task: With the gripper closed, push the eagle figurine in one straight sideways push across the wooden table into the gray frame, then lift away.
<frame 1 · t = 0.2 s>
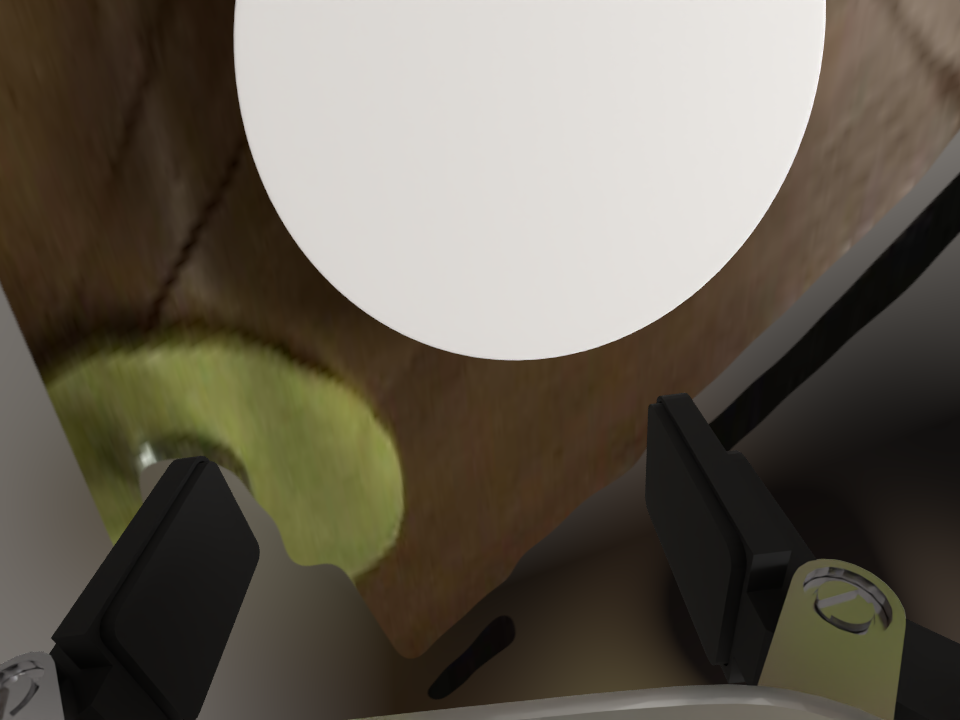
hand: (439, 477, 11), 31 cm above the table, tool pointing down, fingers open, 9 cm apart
plate stack: (510, 95, 36), on the table
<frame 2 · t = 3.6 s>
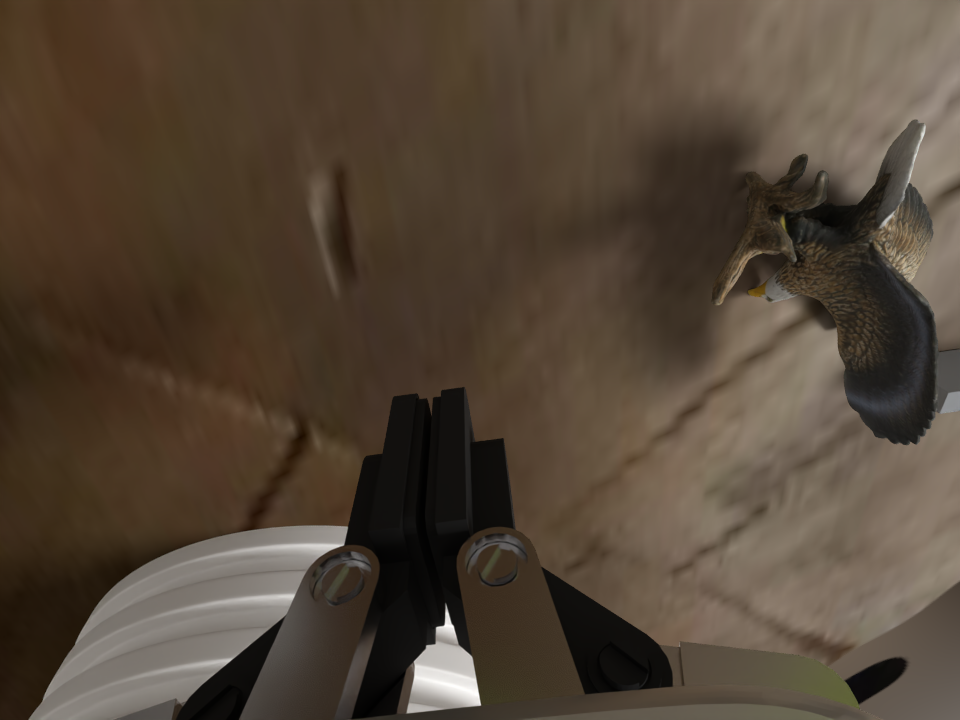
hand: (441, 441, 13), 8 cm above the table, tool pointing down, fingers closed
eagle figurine: (798, 251, 19), on the table
plate stack: (336, 675, 33), on the table
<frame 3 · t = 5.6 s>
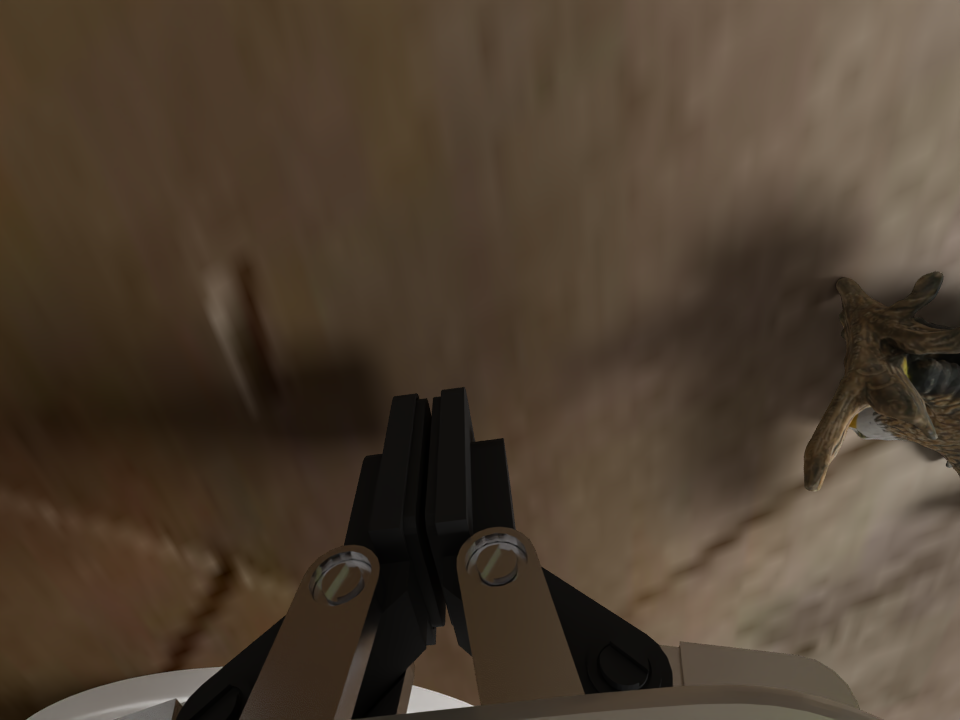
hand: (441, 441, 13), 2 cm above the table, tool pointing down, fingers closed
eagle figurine: (898, 369, 15), on the table
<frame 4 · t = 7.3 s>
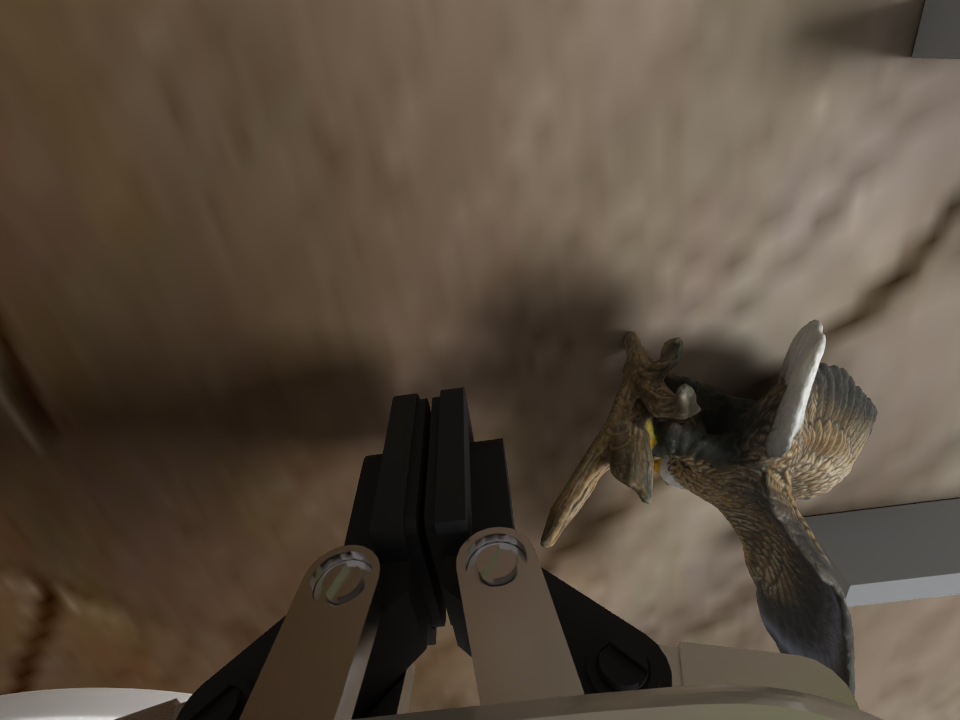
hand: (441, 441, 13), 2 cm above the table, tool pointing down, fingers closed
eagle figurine: (708, 418, 15), on the table, touching gripper
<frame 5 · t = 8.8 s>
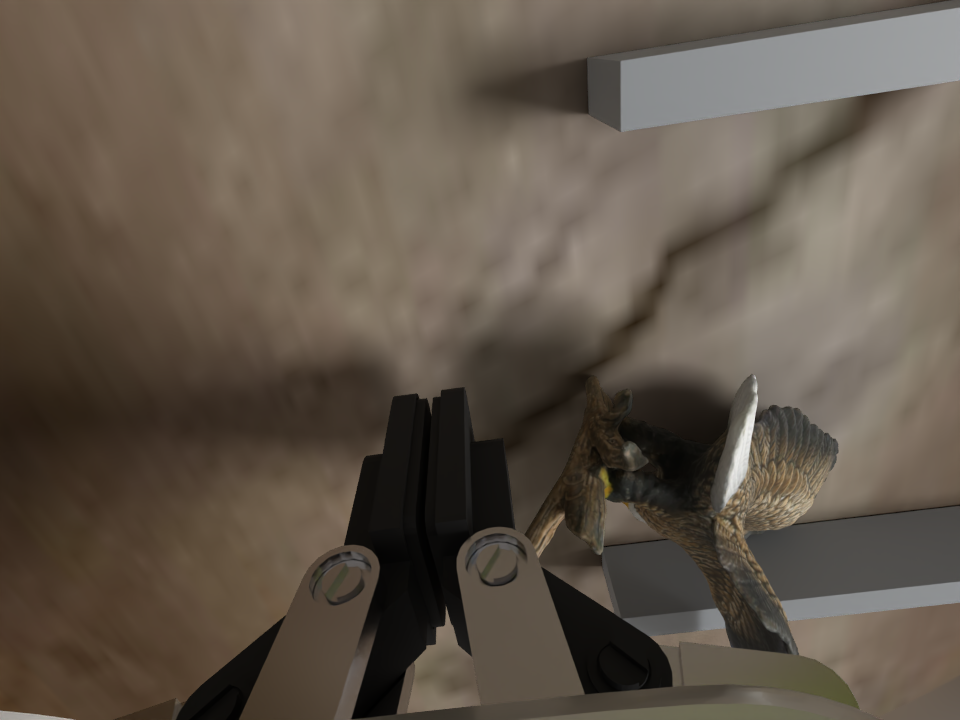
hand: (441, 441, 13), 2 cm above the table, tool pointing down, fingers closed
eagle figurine: (675, 452, 16), on the table, touching gray frame, gripper
gray frame: (908, 341, 14), on the table
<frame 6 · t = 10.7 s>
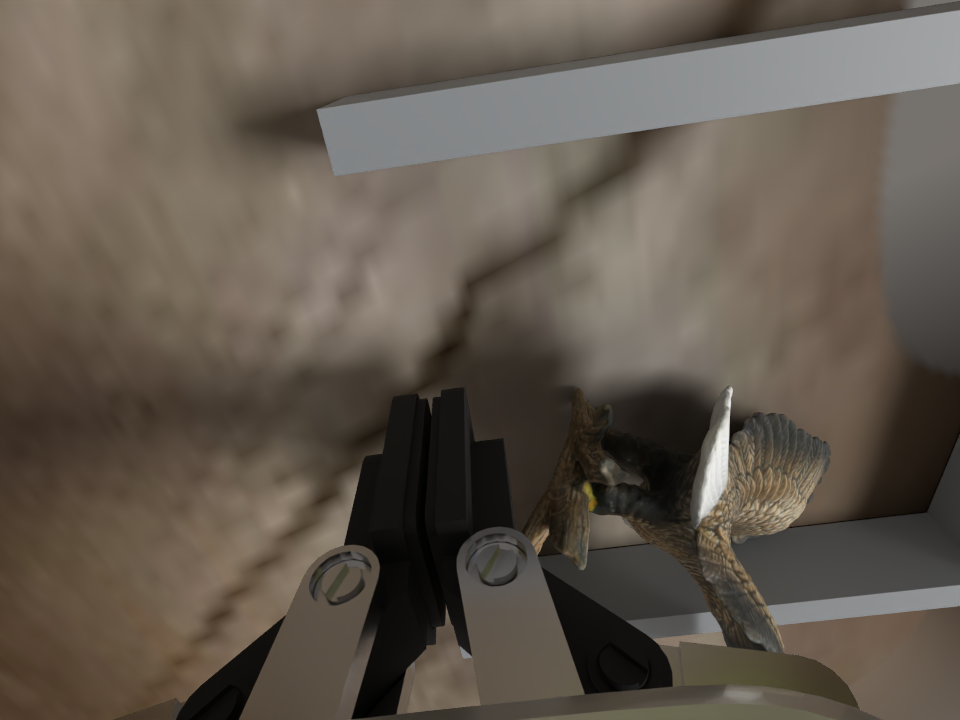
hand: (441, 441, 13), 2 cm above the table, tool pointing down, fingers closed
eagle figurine: (667, 459, 16), on the table, touching gripper
gray frame: (723, 368, 14), on the table
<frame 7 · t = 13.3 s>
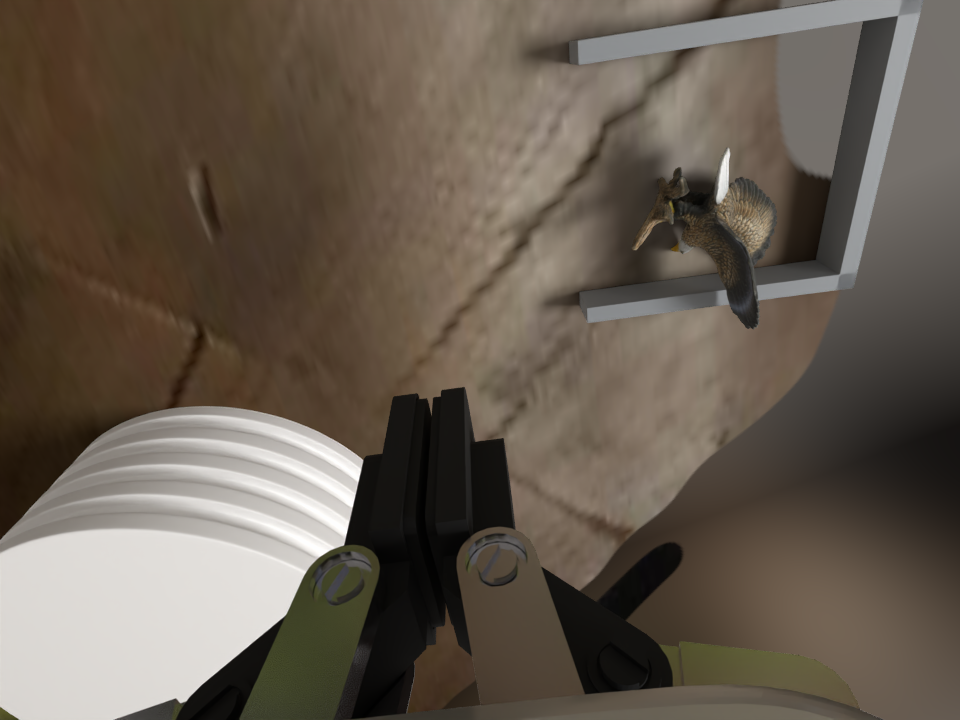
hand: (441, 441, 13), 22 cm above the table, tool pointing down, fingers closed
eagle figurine: (699, 222, 32), on the table
plate stack: (246, 536, 45), on the table
gray frame: (713, 170, 31), on the table
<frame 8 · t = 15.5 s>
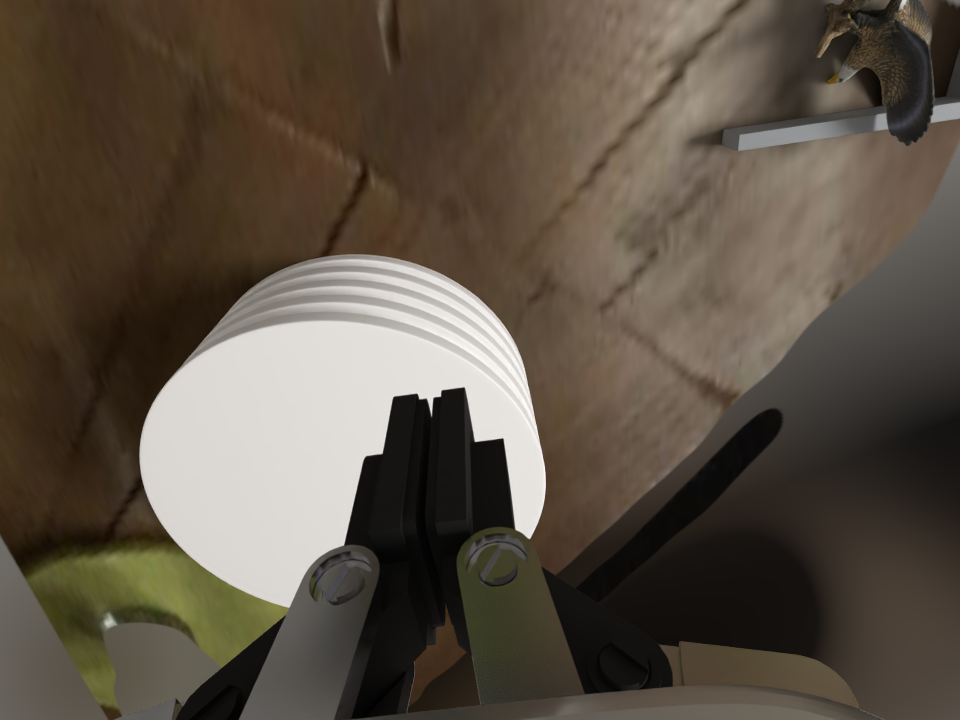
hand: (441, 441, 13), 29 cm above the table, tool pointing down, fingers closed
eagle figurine: (856, 54, 35), on the table, touching gray frame
plate stack: (372, 402, 48), on the table
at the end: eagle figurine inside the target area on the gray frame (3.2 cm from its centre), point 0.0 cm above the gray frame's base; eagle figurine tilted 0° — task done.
